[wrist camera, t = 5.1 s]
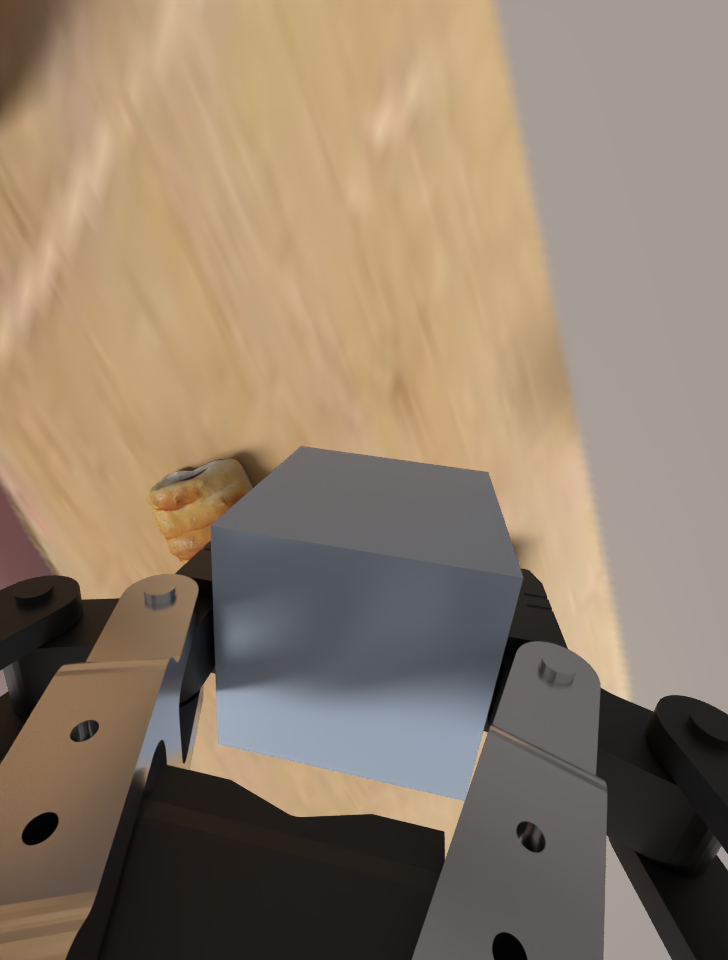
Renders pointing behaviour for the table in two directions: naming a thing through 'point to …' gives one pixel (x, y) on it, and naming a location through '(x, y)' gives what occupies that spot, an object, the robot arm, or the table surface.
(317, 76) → the table surface
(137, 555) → the table surface
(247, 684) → the blue cube
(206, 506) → the pastry
